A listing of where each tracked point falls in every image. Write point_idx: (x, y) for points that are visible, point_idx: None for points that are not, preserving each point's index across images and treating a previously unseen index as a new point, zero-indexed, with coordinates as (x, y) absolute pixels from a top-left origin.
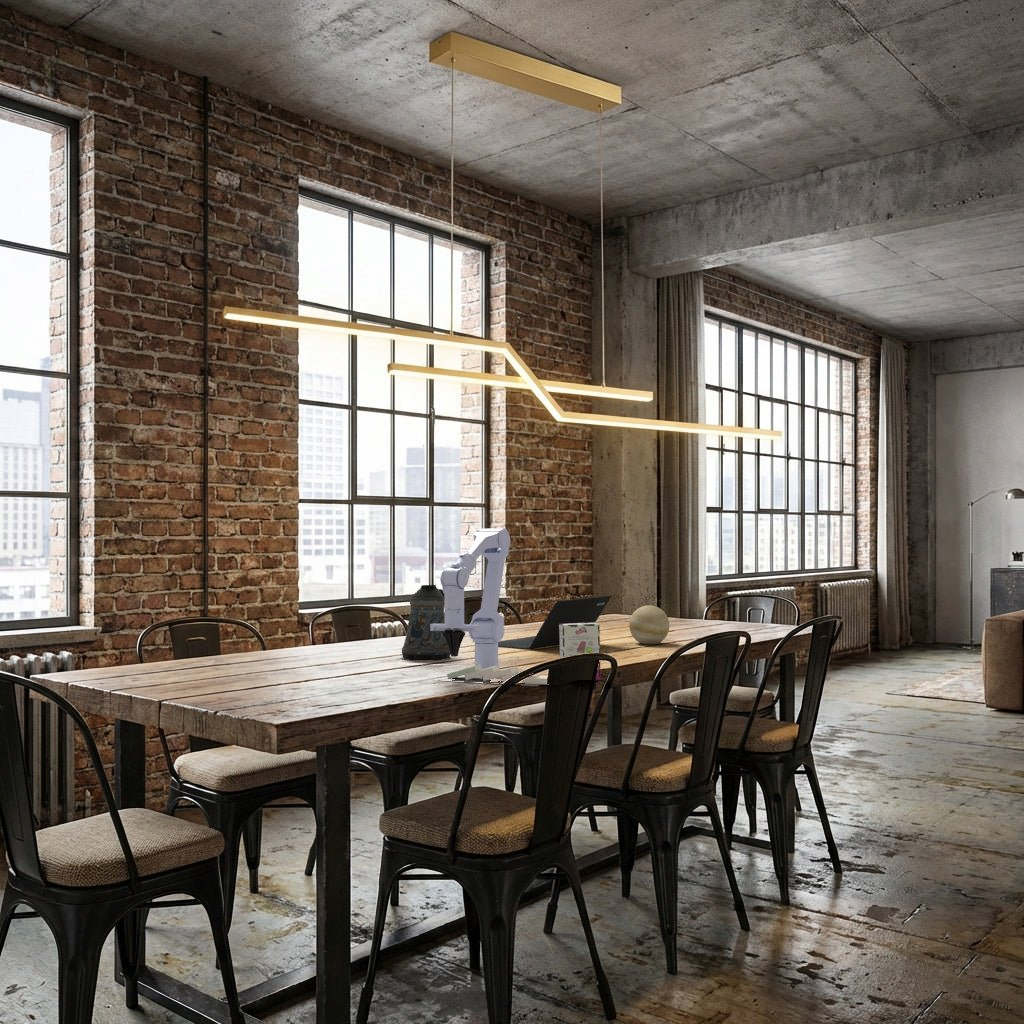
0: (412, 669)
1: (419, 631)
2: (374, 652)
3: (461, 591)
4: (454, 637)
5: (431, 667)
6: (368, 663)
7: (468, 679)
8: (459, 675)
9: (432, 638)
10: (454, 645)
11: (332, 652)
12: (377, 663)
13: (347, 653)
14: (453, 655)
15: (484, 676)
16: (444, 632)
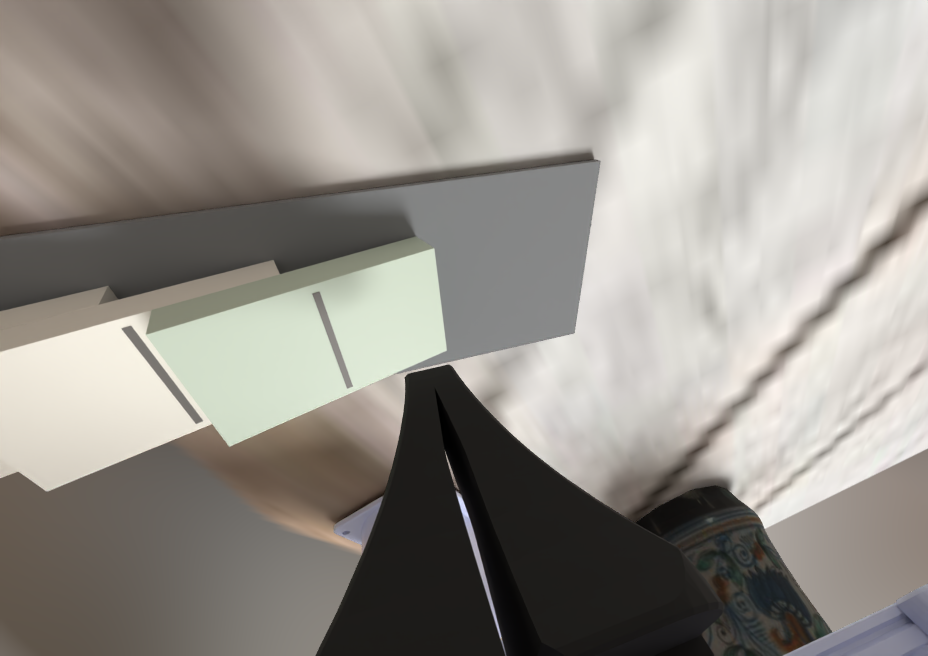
0: (688, 412)
1: (769, 601)
2: (789, 513)
3: None
4: (416, 597)
5: (634, 467)
6: (820, 418)
7: (248, 266)
8: (325, 264)
9: None
10: (417, 461)
11: (874, 471)
12: (796, 431)
13: (846, 479)
14: (424, 376)
15: (76, 306)
16: None
